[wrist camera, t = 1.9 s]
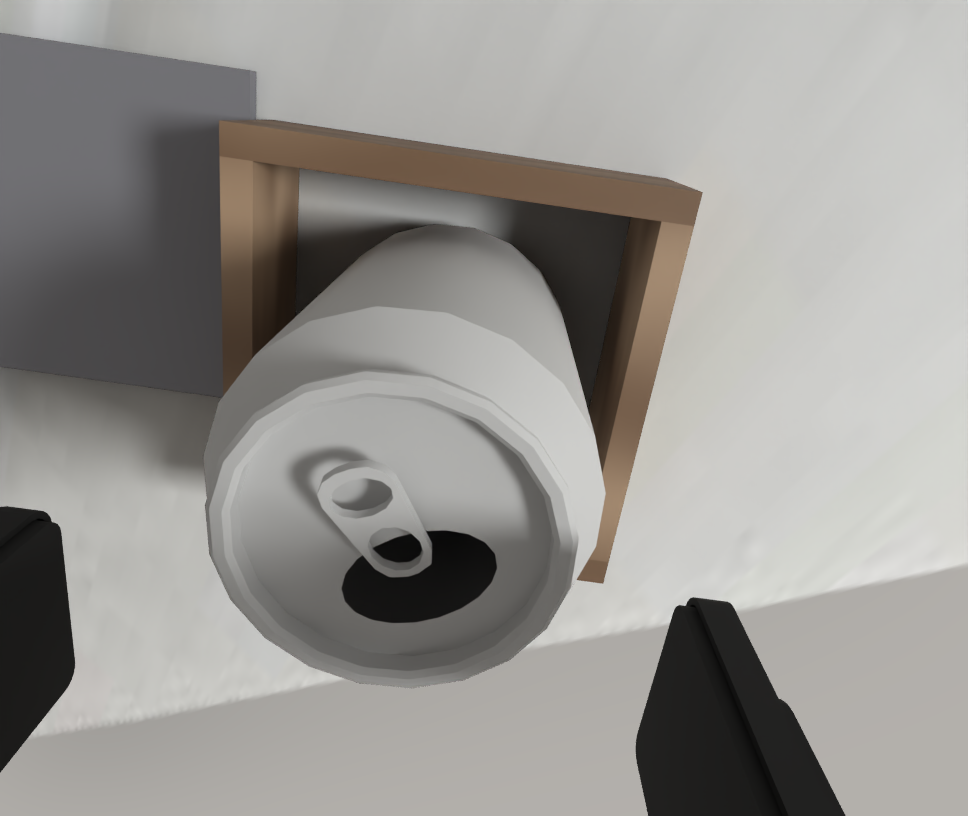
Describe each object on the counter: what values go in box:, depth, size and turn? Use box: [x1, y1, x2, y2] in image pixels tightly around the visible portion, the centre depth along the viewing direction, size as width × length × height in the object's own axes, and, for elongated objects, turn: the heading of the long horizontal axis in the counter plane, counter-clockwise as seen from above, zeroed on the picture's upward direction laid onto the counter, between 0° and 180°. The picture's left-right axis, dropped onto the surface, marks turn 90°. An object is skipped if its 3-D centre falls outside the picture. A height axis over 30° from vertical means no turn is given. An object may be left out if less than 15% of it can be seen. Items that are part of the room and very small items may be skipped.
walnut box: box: [219, 120, 703, 583], centre depth 20 cm, size 12×12×4 cm
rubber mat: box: [0, 33, 256, 397], centre depth 21 cm, size 10×10×1 cm
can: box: [203, 224, 606, 688], centre depth 17 cm, size 8×8×12 cm
